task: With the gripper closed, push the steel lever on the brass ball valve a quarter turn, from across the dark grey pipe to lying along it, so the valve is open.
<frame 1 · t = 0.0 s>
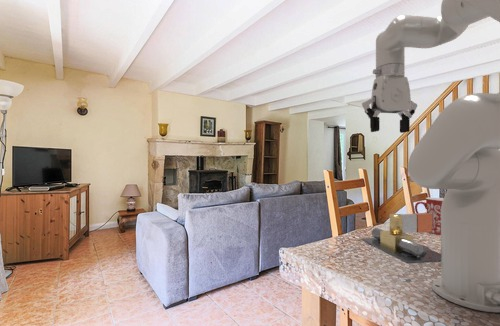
hand: (389, 131, 77), 37 cm above the table, tool pointing down, fingers open, 9 cm apart
lever: (410, 223, 84), point 8 cm above the table, hinge at 0.0°
valve: (396, 249, 83), on the table
mug: (433, 232, 105), on the table
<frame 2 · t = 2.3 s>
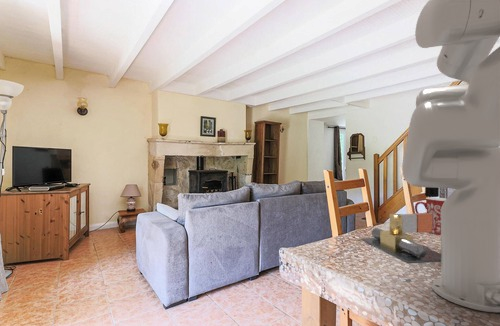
hand: (431, 196, 78), 17 cm above the table, tool pointing down, fingers closed
nothing on the table moved.
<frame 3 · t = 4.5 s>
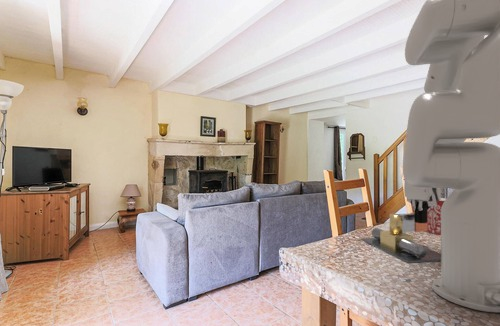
hand: (420, 222, 82), 9 cm above the table, tool pointing down, fingers closed
lever: (408, 222, 85), point 8 cm above the table, hinge at 7.9°, touching gripper
everything else where it was.
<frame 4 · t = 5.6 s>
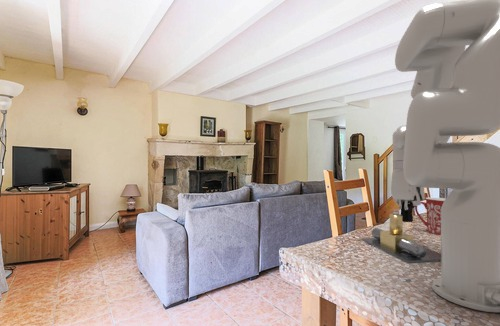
hand: (406, 221, 87), 8 cm above the table, tool pointing down, fingers closed
lever: (396, 220, 88), point 8 cm above the table, hinge at 51.9°, touching gripper
everything else where it was.
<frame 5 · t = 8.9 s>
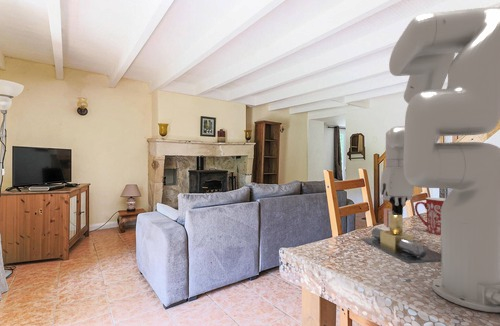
hand: (397, 216, 92), 9 cm above the table, tool pointing down, fingers closed
lever: (391, 220, 88), point 8 cm above the table, hinge at 66.0°, touching gripper
everything else where it was.
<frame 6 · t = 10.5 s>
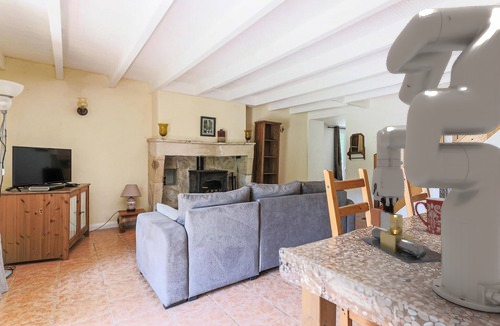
hand: (388, 216, 92), 9 cm above the table, tool pointing down, fingers closed
lever: (385, 220, 88), point 8 cm above the table, hinge at 89.0°
everything else where it was.
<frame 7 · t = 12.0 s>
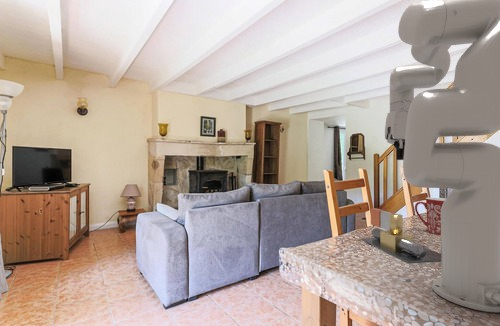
hand: (401, 159, 94), 29 cm above the table, tool pointing down, fingers closed
nothing on the table moved.
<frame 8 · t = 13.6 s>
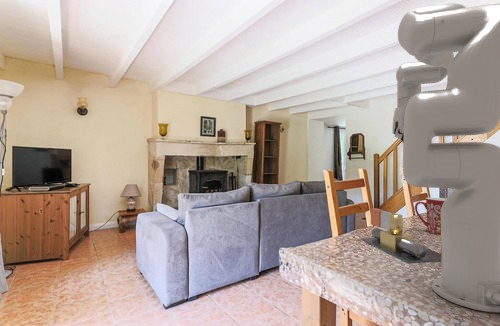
hand: (409, 153, 96), 31 cm above the table, tool pointing down, fingers closed
nothing on the table moved.
at the end: lever at +89° (first picture: +0°); lever touching nothing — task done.
